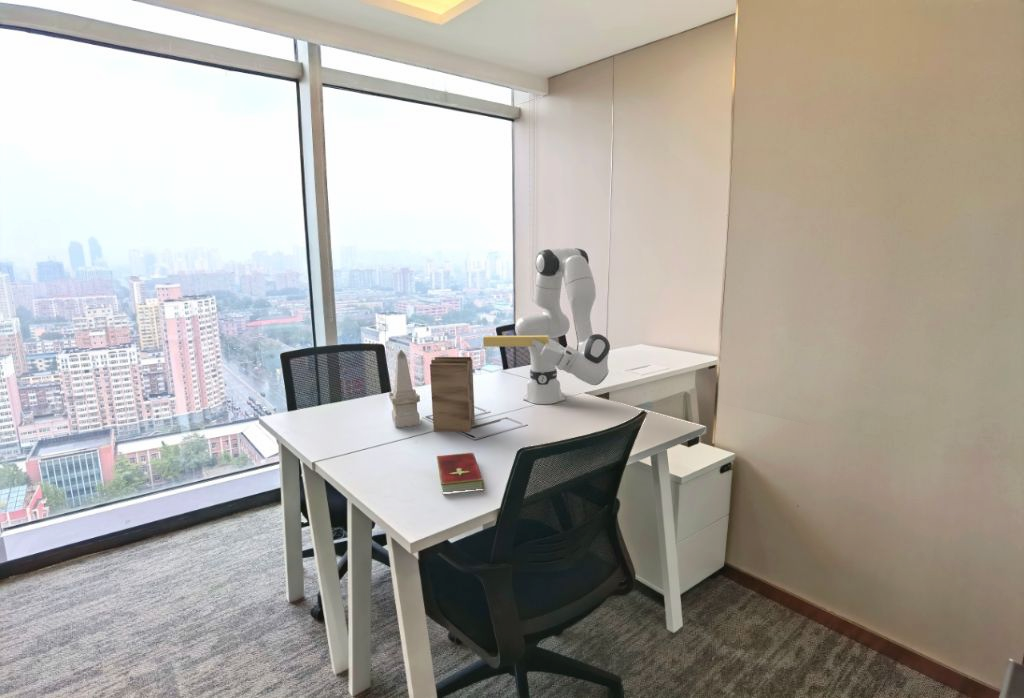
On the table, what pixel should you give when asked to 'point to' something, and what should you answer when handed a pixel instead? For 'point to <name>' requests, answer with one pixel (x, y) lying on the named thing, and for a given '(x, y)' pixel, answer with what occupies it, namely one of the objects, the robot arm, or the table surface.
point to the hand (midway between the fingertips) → (532, 339)
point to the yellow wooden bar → (513, 340)
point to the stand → (452, 394)
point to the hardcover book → (459, 472)
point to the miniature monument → (404, 395)
